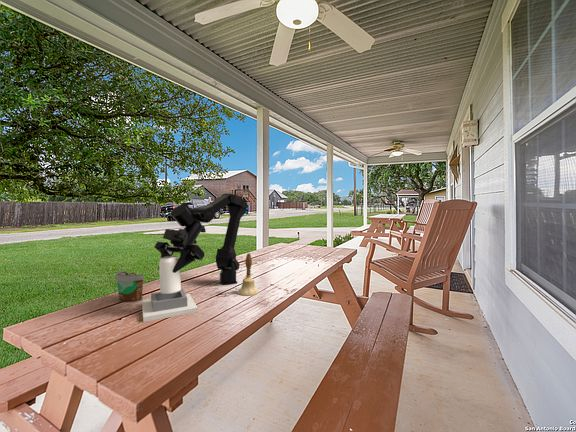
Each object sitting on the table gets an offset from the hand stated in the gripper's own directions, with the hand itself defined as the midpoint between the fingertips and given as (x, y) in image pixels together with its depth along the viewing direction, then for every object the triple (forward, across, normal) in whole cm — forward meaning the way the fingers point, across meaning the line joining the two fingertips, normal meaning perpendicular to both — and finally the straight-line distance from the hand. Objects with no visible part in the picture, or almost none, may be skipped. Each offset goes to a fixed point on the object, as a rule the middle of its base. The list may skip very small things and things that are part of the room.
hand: (166, 271), depth 93 cm
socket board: (+9, 0, +10) cm, 13 cm away
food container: (+9, -21, +10) cm, 25 cm away
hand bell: (-9, +15, +29) cm, 34 cm away
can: (+5, +1, +6) cm, 8 cm away
